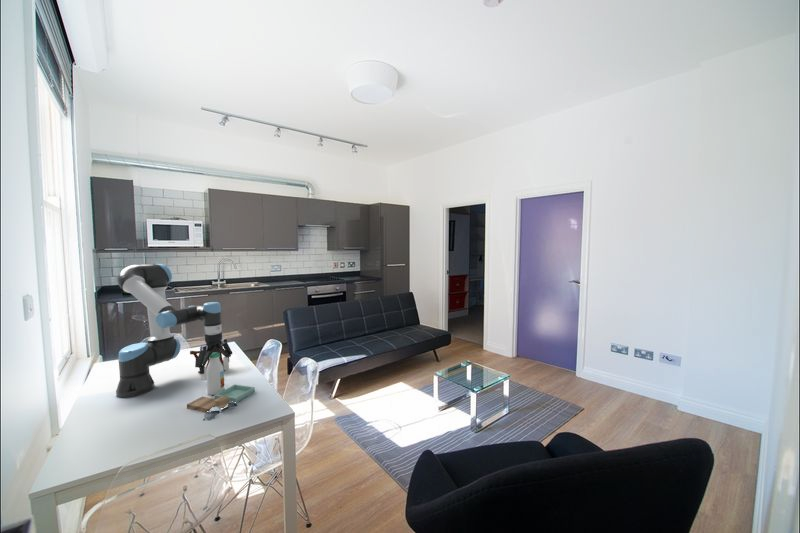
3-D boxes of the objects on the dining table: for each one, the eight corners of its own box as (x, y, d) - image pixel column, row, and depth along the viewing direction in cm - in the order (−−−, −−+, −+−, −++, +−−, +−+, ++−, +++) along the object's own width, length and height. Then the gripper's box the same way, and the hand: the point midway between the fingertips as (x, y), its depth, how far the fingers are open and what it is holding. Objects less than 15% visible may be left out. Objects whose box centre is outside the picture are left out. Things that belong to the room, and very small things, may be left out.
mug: (192, 378, 177) (190, 352, 176) (189, 372, 186) (188, 347, 185) (228, 370, 189) (227, 346, 188) (224, 365, 197) (223, 341, 197)
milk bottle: (216, 396, 156) (215, 356, 155) (203, 394, 158) (201, 355, 157) (228, 389, 164) (226, 351, 163) (215, 388, 166) (213, 350, 164)
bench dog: (214, 411, 142) (214, 400, 142) (223, 406, 147) (223, 395, 146) (220, 412, 141) (219, 401, 141) (229, 406, 146) (228, 396, 146)
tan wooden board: (186, 409, 144) (186, 404, 144) (202, 401, 152) (202, 396, 152) (210, 414, 140) (210, 409, 140) (225, 406, 148) (225, 400, 148)
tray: (214, 400, 152) (214, 395, 152) (234, 389, 164) (234, 384, 164) (235, 403, 149) (235, 398, 149) (254, 392, 161) (254, 387, 161)
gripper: (197, 340, 146) (199, 385, 147) (238, 327, 170) (240, 366, 171) (184, 339, 148) (187, 383, 149) (227, 326, 172) (229, 364, 173)
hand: (215, 374), depth 160 cm, fingers open, 13 cm apart
